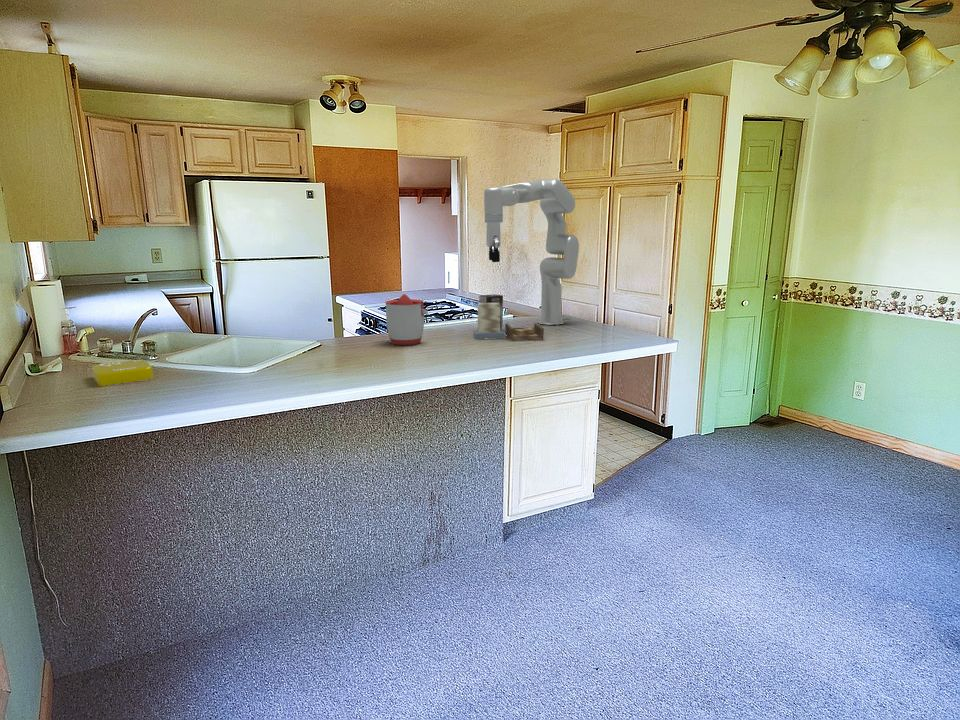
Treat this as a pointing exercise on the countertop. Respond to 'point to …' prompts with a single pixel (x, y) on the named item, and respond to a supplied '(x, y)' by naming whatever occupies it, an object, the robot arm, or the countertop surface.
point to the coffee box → (494, 299)
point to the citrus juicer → (405, 320)
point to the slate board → (488, 335)
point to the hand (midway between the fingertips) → (494, 261)
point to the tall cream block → (488, 317)
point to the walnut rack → (538, 330)
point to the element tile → (122, 372)
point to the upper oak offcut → (524, 331)
